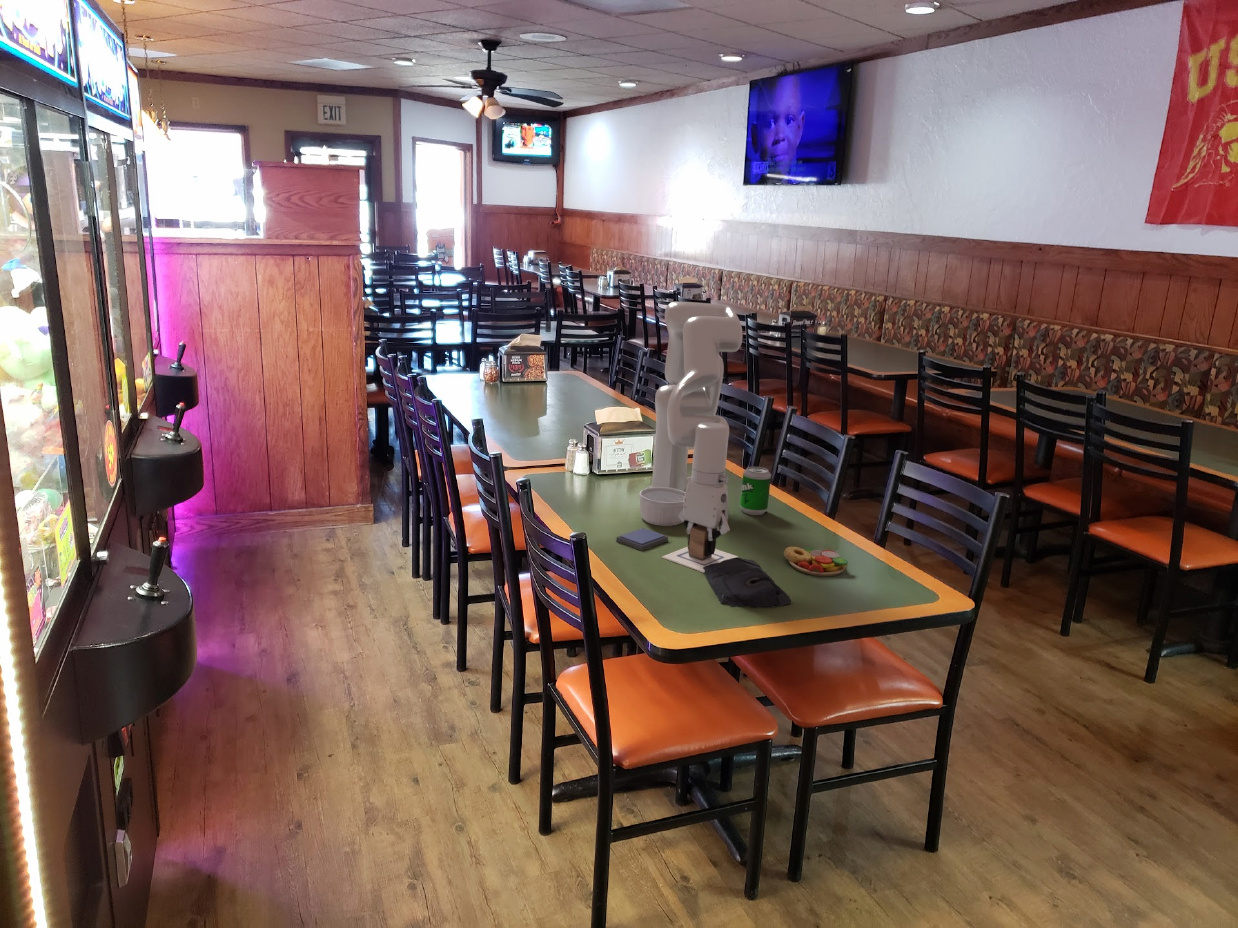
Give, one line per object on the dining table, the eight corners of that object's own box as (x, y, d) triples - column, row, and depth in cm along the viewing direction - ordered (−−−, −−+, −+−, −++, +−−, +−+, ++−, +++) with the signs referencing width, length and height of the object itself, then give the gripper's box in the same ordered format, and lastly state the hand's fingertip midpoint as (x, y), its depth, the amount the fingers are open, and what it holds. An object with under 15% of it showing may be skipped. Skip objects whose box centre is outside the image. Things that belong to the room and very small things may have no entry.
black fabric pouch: (762, 569, 204) (764, 549, 202) (794, 609, 183) (797, 588, 182) (697, 569, 201) (699, 549, 200) (722, 610, 180) (725, 588, 179)
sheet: (697, 543, 216) (697, 542, 216) (738, 557, 208) (738, 556, 208) (661, 557, 205) (661, 556, 205) (703, 572, 198) (704, 571, 198)
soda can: (766, 508, 247) (770, 467, 243) (767, 517, 239) (772, 474, 236) (738, 506, 247) (743, 464, 244) (739, 514, 240) (744, 472, 237)
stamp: (698, 551, 209) (700, 524, 208) (712, 556, 207) (714, 528, 205) (688, 556, 206) (690, 527, 205) (702, 560, 204) (704, 532, 202)
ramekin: (684, 530, 225) (686, 504, 223) (633, 524, 227) (635, 498, 225) (690, 515, 237) (692, 490, 235) (642, 509, 240) (644, 484, 238)
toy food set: (777, 558, 210) (778, 545, 210) (825, 554, 215) (827, 542, 214) (806, 580, 198) (807, 566, 197) (856, 576, 203) (858, 562, 202)
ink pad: (642, 532, 221) (642, 526, 221) (667, 540, 216) (668, 535, 216) (616, 541, 214) (616, 535, 214) (641, 550, 209) (642, 544, 209)
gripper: (747, 482, 199) (739, 558, 204) (688, 465, 210) (681, 538, 214) (729, 488, 194) (721, 566, 199) (668, 471, 204) (662, 545, 209)
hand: (700, 551), depth 206 cm, fingers closed on stamp, 4 cm apart
